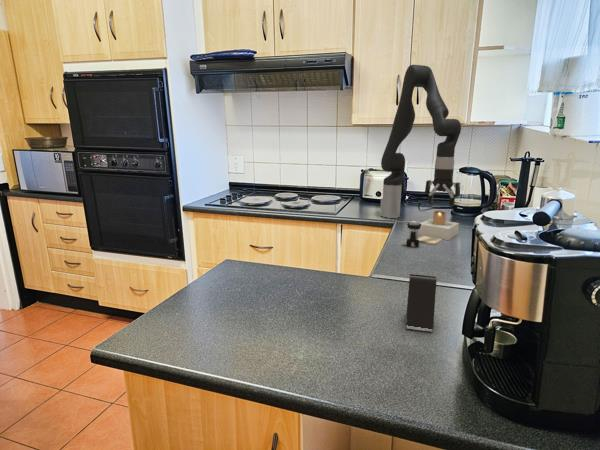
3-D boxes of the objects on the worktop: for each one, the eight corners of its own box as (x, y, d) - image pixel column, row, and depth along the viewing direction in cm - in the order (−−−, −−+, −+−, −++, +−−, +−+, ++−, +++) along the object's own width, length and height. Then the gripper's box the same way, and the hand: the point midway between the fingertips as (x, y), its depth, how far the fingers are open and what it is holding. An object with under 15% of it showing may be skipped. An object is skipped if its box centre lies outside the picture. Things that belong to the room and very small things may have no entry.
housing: (417, 234, 170) (418, 223, 169) (429, 229, 180) (430, 218, 179) (447, 240, 162) (448, 228, 161) (457, 234, 172) (459, 223, 171)
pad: (415, 241, 160) (415, 239, 160) (423, 237, 166) (423, 235, 166) (434, 245, 155) (434, 243, 155) (441, 241, 161) (442, 239, 161)
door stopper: (406, 312, 99) (410, 268, 96) (431, 315, 97) (435, 270, 94) (405, 329, 90) (409, 281, 88) (432, 333, 89) (437, 284, 86)
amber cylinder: (430, 234, 171) (432, 211, 168) (434, 232, 175) (436, 210, 172) (441, 236, 168) (443, 213, 165) (445, 234, 172) (447, 211, 169)
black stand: (402, 247, 153) (404, 222, 150) (401, 243, 158) (403, 219, 155) (419, 248, 151) (422, 223, 149) (418, 244, 156) (420, 220, 154)
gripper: (464, 167, 163) (460, 206, 166) (431, 166, 171) (428, 202, 175) (458, 169, 157) (454, 208, 161) (424, 167, 166) (421, 204, 170)
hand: (441, 205), depth 168 cm, fingers open, 8 cm apart
